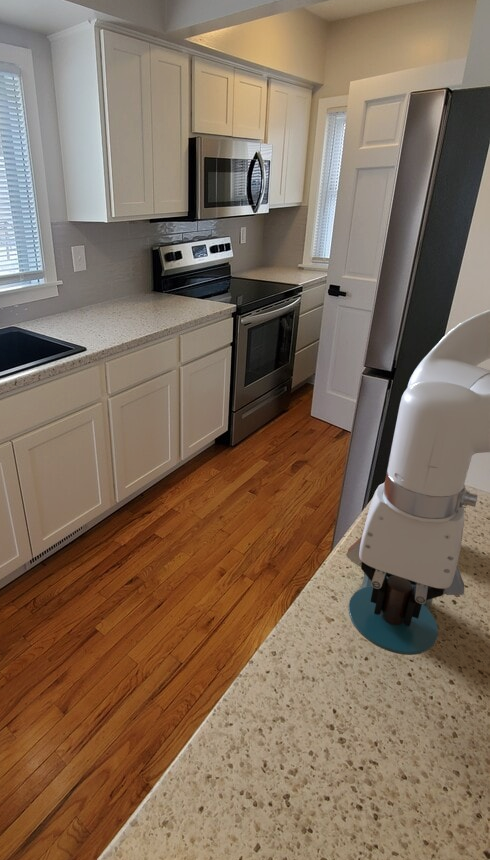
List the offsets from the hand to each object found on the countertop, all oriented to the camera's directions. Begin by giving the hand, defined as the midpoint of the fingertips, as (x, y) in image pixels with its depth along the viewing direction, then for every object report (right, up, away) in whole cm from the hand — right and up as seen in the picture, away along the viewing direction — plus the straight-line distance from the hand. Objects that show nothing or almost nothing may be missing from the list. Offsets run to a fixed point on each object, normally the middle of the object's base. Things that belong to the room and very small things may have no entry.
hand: (393, 611), depth 62 cm
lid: (0, -1, +1) cm, 1 cm away
